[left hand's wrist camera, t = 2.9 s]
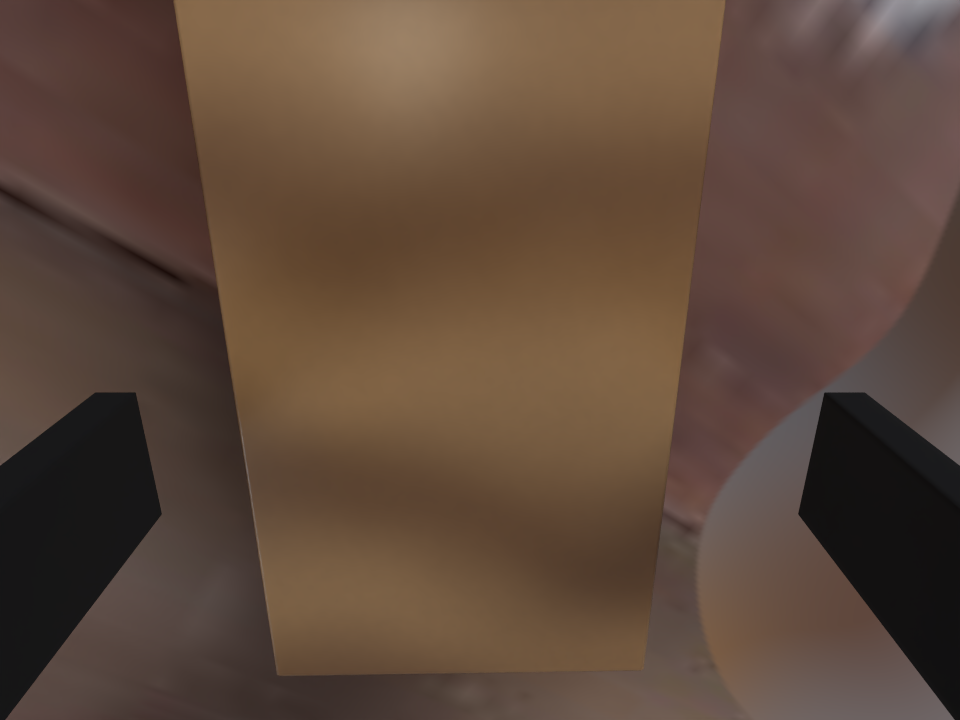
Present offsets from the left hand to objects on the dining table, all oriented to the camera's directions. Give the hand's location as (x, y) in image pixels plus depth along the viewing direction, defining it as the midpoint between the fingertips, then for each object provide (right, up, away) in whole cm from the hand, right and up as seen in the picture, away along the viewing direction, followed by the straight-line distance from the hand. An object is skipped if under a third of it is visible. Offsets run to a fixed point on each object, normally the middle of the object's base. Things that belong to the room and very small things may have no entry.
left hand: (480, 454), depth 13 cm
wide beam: (-1, +20, +1) cm, 20 cm away
